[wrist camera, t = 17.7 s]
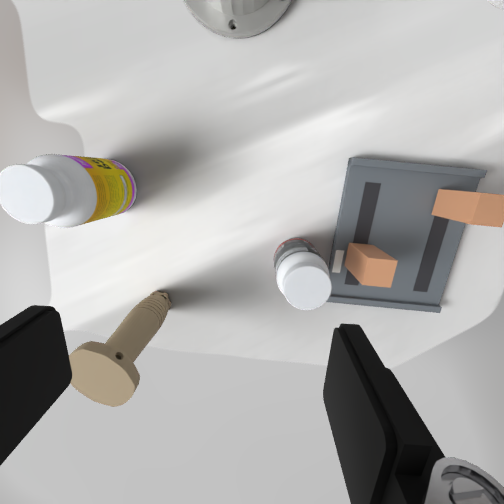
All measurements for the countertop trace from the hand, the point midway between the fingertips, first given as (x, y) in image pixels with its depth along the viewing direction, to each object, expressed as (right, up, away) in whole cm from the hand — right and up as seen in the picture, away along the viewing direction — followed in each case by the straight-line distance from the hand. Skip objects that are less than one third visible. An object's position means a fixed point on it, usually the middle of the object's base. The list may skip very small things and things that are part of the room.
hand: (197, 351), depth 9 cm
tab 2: (+25, +9, +22) cm, 35 cm away
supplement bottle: (-16, +12, +24) cm, 31 cm away
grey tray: (+20, +5, +25) cm, 32 cm away
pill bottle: (+8, +3, +26) cm, 27 cm away
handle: (-11, -3, +29) cm, 31 cm away
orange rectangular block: (+15, +3, +24) cm, 29 cm away
